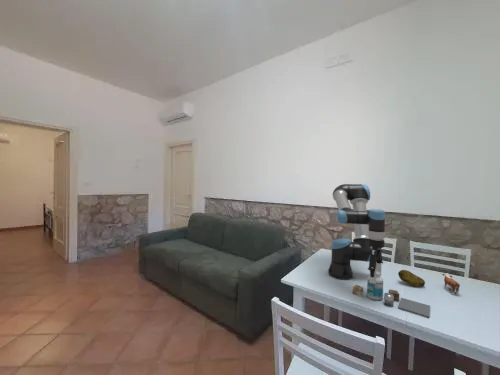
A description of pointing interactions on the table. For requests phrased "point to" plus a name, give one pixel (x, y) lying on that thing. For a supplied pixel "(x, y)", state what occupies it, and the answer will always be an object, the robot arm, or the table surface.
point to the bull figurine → (451, 283)
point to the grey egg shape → (389, 299)
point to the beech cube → (357, 290)
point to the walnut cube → (395, 294)
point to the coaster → (414, 307)
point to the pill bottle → (375, 287)
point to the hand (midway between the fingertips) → (375, 279)
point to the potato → (411, 278)
